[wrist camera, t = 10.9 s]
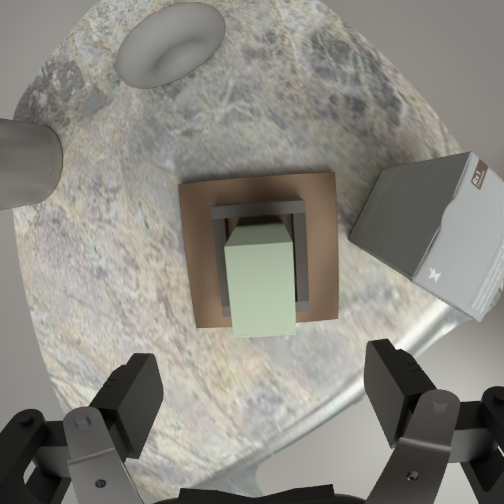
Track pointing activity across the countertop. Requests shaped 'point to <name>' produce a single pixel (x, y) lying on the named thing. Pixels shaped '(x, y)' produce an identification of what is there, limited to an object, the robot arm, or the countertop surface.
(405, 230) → the skincare box
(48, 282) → the countertop surface
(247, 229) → the keyed peg
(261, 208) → the keyed socket board
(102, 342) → the countertop surface
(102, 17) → the countertop surface
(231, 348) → the countertop surface
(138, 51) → the donut
